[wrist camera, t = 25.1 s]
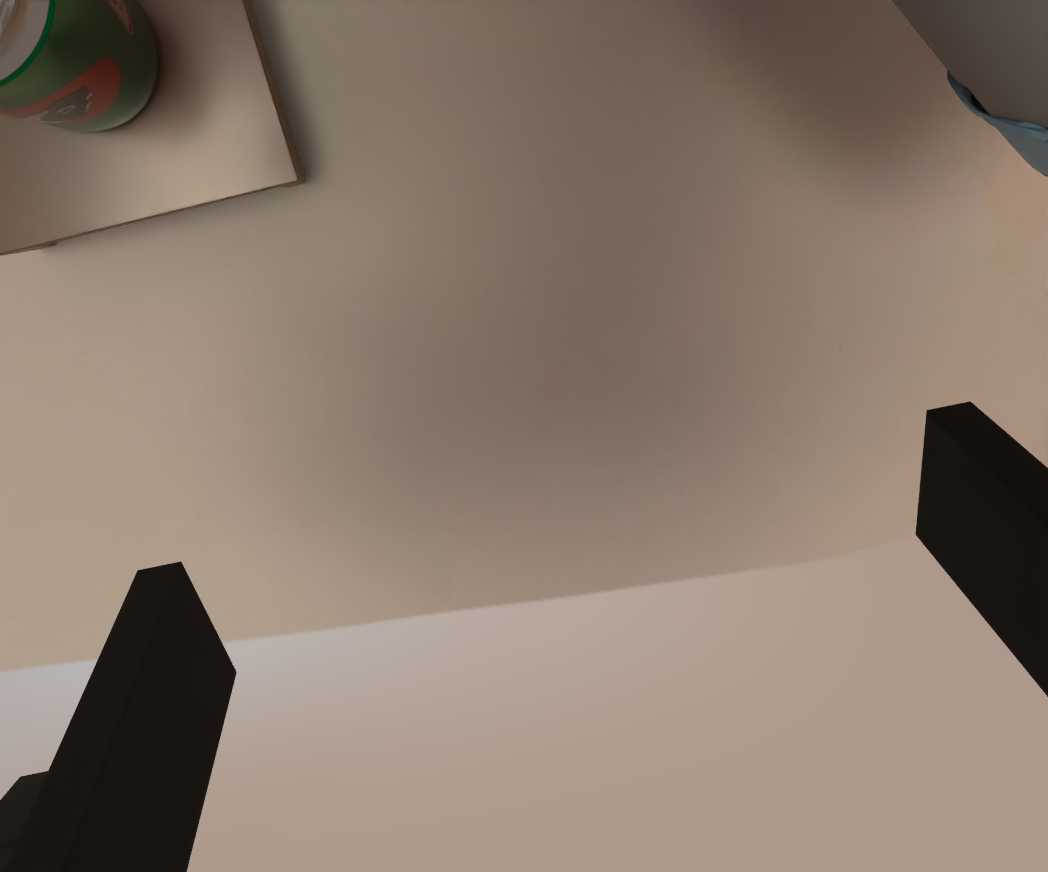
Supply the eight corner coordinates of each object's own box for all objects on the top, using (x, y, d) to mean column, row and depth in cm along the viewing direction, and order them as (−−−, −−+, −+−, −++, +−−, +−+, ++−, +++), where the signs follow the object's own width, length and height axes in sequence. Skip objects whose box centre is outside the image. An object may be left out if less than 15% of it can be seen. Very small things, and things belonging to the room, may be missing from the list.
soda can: (189, 29, 29) (80, -81, 17) (122, 163, 29) (-25, 141, 18) (38, -66, 27) (-190, -253, 16) (-28, 77, 28) (-292, -4, 17)
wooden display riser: (215, -114, 32) (176, -202, 25) (306, 182, 35) (294, 179, 28) (-87, -52, 31) (-219, -126, 24) (37, 249, 34) (-46, 263, 27)
